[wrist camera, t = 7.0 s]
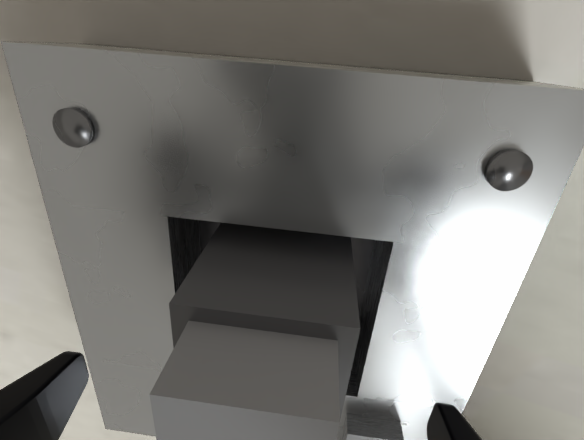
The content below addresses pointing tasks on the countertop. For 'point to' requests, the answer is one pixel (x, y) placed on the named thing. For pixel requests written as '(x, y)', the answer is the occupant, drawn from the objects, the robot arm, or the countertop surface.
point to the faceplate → (294, 203)
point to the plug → (260, 339)
